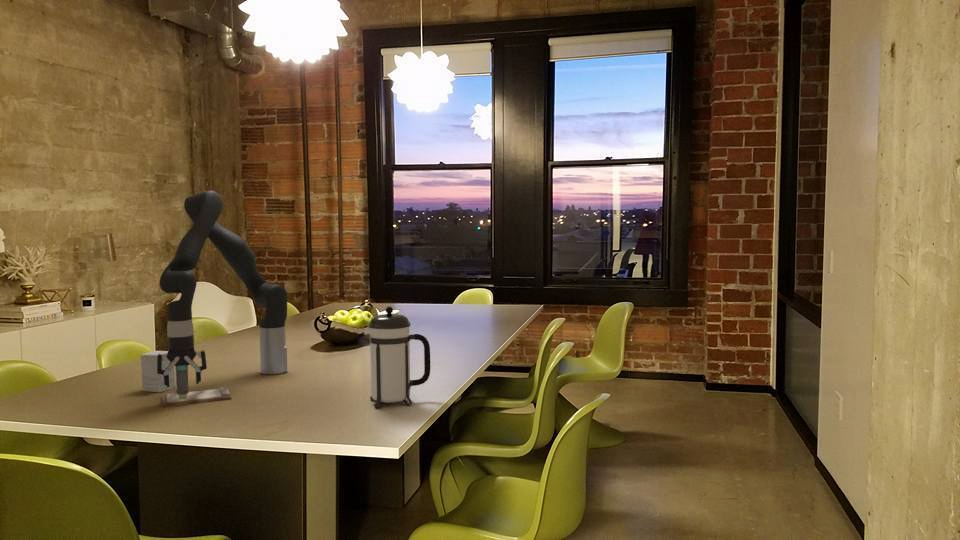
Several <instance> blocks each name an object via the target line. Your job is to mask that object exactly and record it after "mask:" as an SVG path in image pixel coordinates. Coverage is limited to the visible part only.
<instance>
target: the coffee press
mask: <svg viewBox="0 0 960 540" xmlns="http://www.w3.org/2000/svg"><path fill="white" fill-rule="evenodd" d="M385 312H386V313H385V314H378V315H375V316H373V317H372V318H371V319H370V320H369V323H368V326H367V327H366V328H365V331H364V333H363V334H364V335H369V336H368V337H369V338H368V339H369V340H368V341H369V344H370V346H369V347H370V348H369V350H370V351H369V353H370V396H369V398H370V401H371V402H373V401H375V404H374V408H375V409H381V408H382V407H383V405H384V403H385V404H386V403H399V402H403V403H404V404H405V406H407V407H409V406H412V404H413V401H412V399H411V397H410V396H411V387H415V386H420V385H423V384H425V383H426V382H427V381H428V380H429V378H430V375H431V347H430V342H429V341H428V339H427V337H426V336H425V335H422V334H419V333H414V334H410V327H411V322H410V320H409V318H408V317H407V316H405V315H403V314H397V313H393V312H394V309H393V307H392V306H387V307H386V308H385ZM411 340H415V341H420V342H421V343H422V344H423V358H424V359H423V360H424V362H423V363H424V366H423V367H424V372H423V375H422V377H420V378H418V379H413V380H412V379H411V363H410V362H411V360H410V357H411V356H410V353H411V351H410V350H411V349H410V342H411Z"/></svg>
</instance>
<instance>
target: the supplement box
mask: <svg viewBox="0 0 960 540" xmlns="http://www.w3.org/2000/svg"><path fill="white" fill-rule="evenodd" d="M167 353H168V350H167V351H166V350H155V351H150V352H146V353H142V354H140V363H141V382H142V383H141V384H142V386H141V387H142V392H151V393H152V392H153V393H161V392H165V391H169V390H172V389H175V388H176V382H175V380H176V379H175V366H174V367H173V368H172V369H171V371H170V372H169V373H168V374H169V387H167V385H165V384H164V375H162V374H158V373H157V356H158V354H167ZM169 363H170V361H169V360H168V359H167V358H165V360H164V361H162V370H165V369H166V368H167V366H168V365H169Z"/></svg>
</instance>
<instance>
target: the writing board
mask: <svg viewBox="0 0 960 540" xmlns="http://www.w3.org/2000/svg"><path fill="white" fill-rule="evenodd" d="M228 400H232V395H231V393H230V390H229V388H228V386H222V387H219V388H215V389H204V390H195V391H189V393H187V398H183V399H180V398H179V394H177V392H175V393H167V394H166V393H165V394H161V407H162V408H163V407H165V408H166V407H171V406H180V405H181V406H182V405H184V406H185V405H193V404H201V403H210V402H219V401H228Z"/></svg>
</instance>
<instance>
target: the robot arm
mask: <svg viewBox="0 0 960 540" xmlns="http://www.w3.org/2000/svg"><path fill="white" fill-rule="evenodd" d="M183 206H184V211H185V212H186V214H187V216H188V217H189V219H190V220H191V221H192V222H193V225H192V226H191V228H190V229H189V230H188V231H187V232H186V233H185V234H184V236H183V237H182V239H180V242H179V243H178V246H177V249H176V251H175V254H174V257H173V259H172V260H170V262H169V263H168V265H167V266H166V267H165V269H164V270H163V272H162V273H161V275H160V277H159V287H160V288H159V289H161V291H162V292H164V293H165V294H180V297H179V299H177V300H174V301H173V300H172V301H170V302H168V303H167V305H166V306H167V307H166V309H167V311H166V312H167V313H166V314H167V325H166V330H167V331H166V335H167V336H166V337H167V351H168V353H167V354H158V356H157V373H158V374H162V375H164V384H165V385H167V387H169V374H168V373H169V372H170V371H171V369H172V368H173V367H174V368H175V367H176V366H181V365H187V366H188V367H189V365H190V366H191V368H193V369H194V370H195V383H196V384H197V385H198V384H199V383H201V381H202V371H205V370H207V368H208V367H207V359H206V358H207V357H206V352H205V350H204V349H201V350H199V351H196V350H195V339H194V338H195V337H194V335H195V334H194V333H195V331H194V323H193V311H192V310H193V309H192V306H193V300H194V297H195V293H196V288H197V278H196V277H197V276H196V275H195V273H193V272H192V271H193V270H194V269H195V268H197V265H198V262H199V259H200V256H201V254H202V250H203V248H204V246H205V243H206V241H207V238H208V239H209V241H210V242H211V243H212V244H213V245H214V246H215V248H216V249H217V250H218V252H219V253H220V254H221V256H222V257H223V259H224V260H225V261H226V262H227V264H228V266H229V267H230V268H231V269H232V270H233V271H234V272H235V274H236V275H237V277H238V278H239V279H240V280H241V282H242V283H243V284H244V286H245V288H247V291H248V292H249V294H250V295H251V297H252V299H253V300H254V302H255V304H256V305H258V306H259V307H260V308H264V309H265V315H264V317H262V318H260V319H259V326H258V327H259V353H260V354H259V355H260V357H259V358H260V373H261V374H263V375H277V374H278V375H279V374H283V373H288V347H287V345H286V342H287V341H286V321H287V318H288V294H287V290H286V288H285V287H284V286H283V285H282V284H281V285H280V284H278V283H269V282H267V280H266V279H265V278H264V277H263V275H262V274H261V273H260V272H259V270H258V266H257V260H256V256H255V253H254V252H253V250H252V249H251V247H250V246H249V245H248V243H247V242H246V241H245V239H243V238H242V237H241V236H240V235H239V234H237V233H235V232H233V231H231V230H230V229H228V228H226V227H224V226H222V224H220V223H219V222H218V219H219V217H220V215H221V214H222V211H223V207H224V203H223V199H222V197H221V195H220V194H219V193H218V192H216V191H214V190H206V191H205V190H204V191H201V192H198V193H194V194H191V195H189V196H187V197H186V198H185V199H184V202H183ZM196 356H198V358H199V359H201V365H200V366H199V365H198V364H197V363H196V362H195V360H194V359H195V358H196ZM165 358H167V359H168V360H169V361H170V363H169V365H168V366H167V368H166V369H165V370H162V361H164V360H165Z"/></svg>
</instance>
